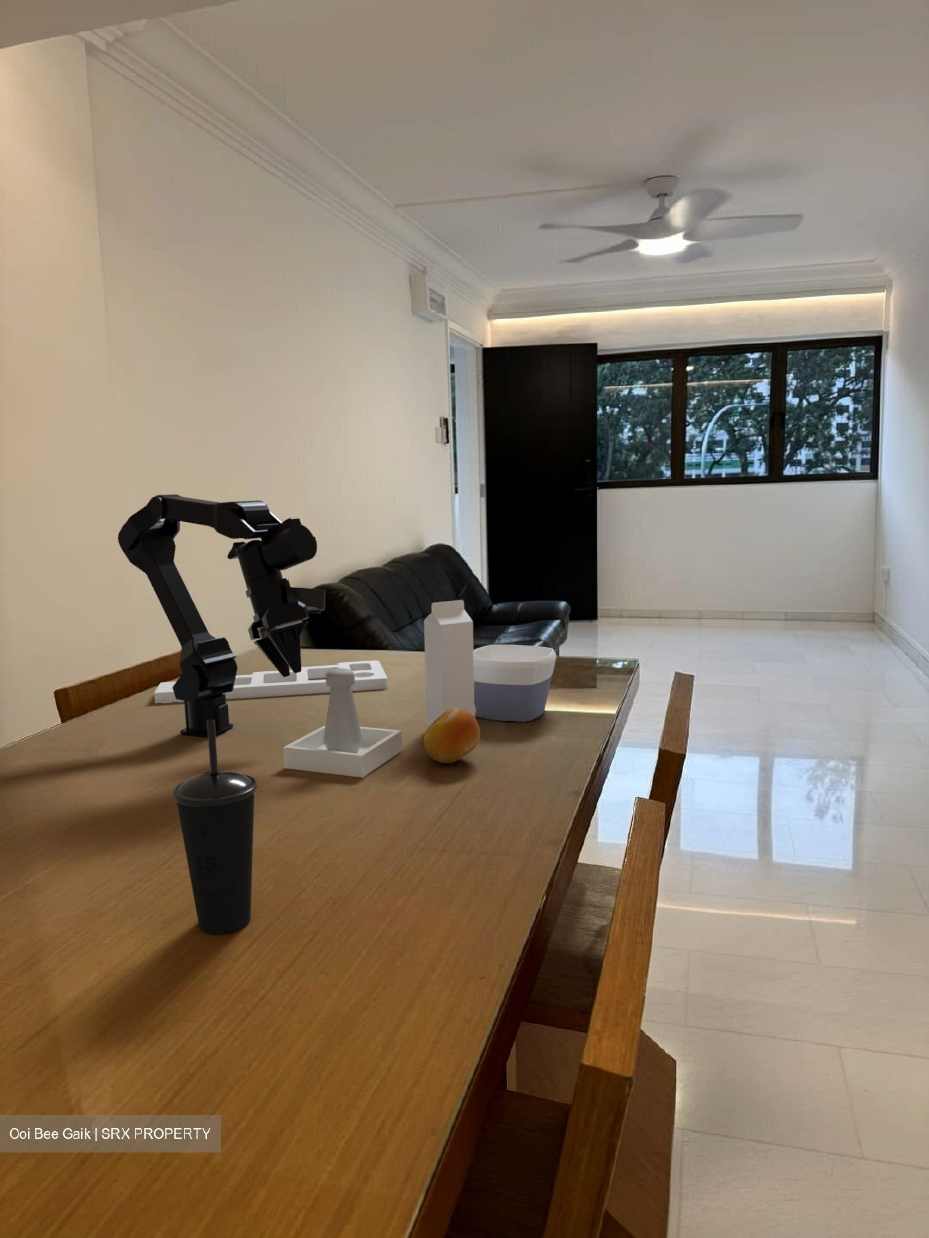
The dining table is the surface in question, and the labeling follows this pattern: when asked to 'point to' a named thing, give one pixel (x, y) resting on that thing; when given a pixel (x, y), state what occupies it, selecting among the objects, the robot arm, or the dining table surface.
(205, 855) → the drinking cup
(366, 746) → the dish
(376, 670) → the holder
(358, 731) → the salt shaker
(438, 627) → the milk
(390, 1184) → the dining table surface
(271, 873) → the dining table surface
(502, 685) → the bowl
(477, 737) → the fruit
